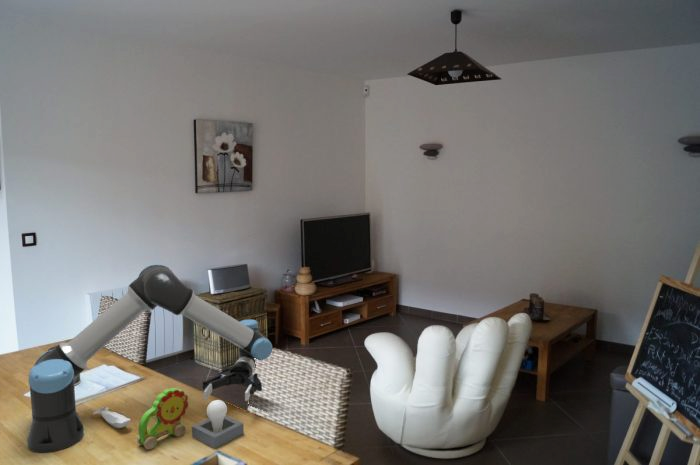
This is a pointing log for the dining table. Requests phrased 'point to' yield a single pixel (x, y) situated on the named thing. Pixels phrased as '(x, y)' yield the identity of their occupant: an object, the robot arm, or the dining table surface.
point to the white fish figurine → (113, 418)
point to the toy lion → (164, 417)
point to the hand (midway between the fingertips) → (225, 396)
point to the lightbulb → (217, 414)
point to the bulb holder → (228, 433)
